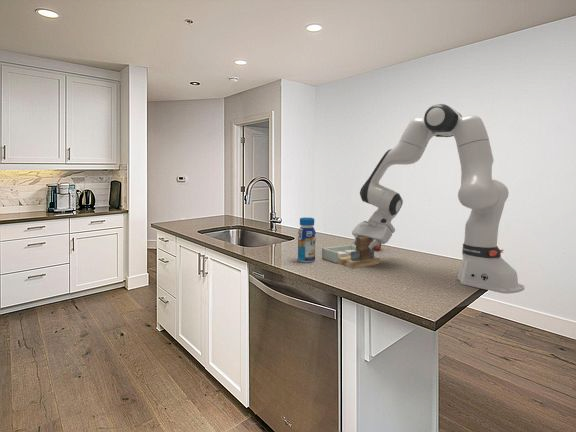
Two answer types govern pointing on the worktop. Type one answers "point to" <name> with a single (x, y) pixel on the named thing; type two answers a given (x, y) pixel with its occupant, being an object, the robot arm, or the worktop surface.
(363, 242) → the stacked block structure
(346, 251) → the tile
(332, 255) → the tray
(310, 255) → the beverage bottle
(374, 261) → the board
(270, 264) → the worktop surface
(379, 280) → the worktop surface
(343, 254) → the tile
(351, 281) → the worktop surface
